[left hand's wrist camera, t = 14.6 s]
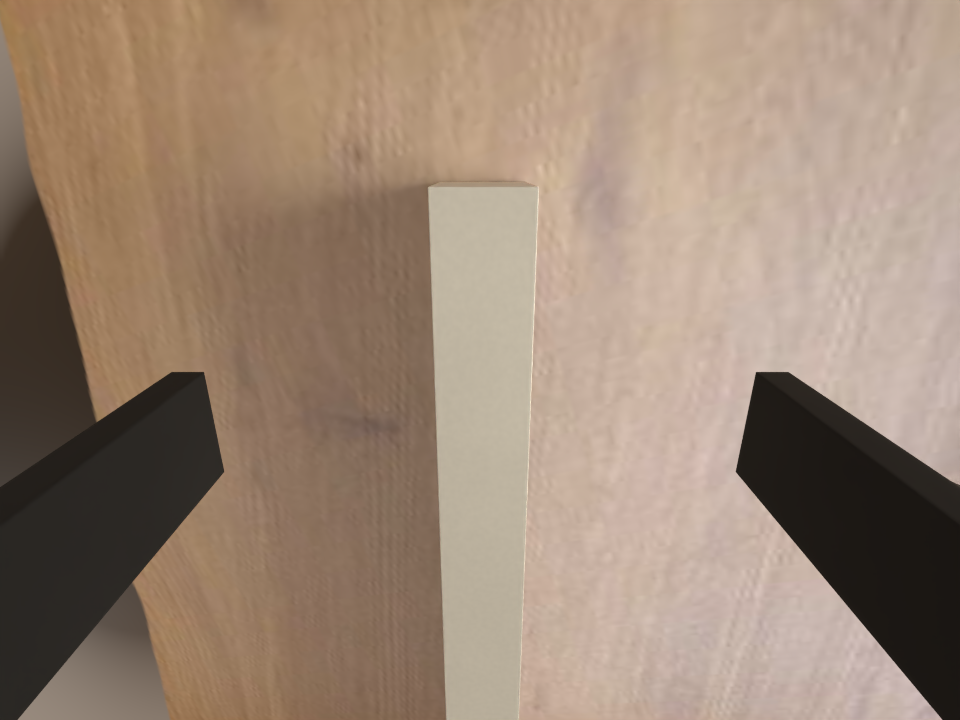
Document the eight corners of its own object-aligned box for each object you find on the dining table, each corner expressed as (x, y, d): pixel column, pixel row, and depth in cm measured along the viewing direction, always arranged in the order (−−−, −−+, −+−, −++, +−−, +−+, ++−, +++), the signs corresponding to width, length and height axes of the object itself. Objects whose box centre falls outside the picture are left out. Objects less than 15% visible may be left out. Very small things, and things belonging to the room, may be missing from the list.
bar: (439, 181, 33) (427, 186, 26) (525, 181, 33) (539, 186, 26) (456, 836, 57) (453, 935, 50) (506, 836, 57) (510, 935, 50)
